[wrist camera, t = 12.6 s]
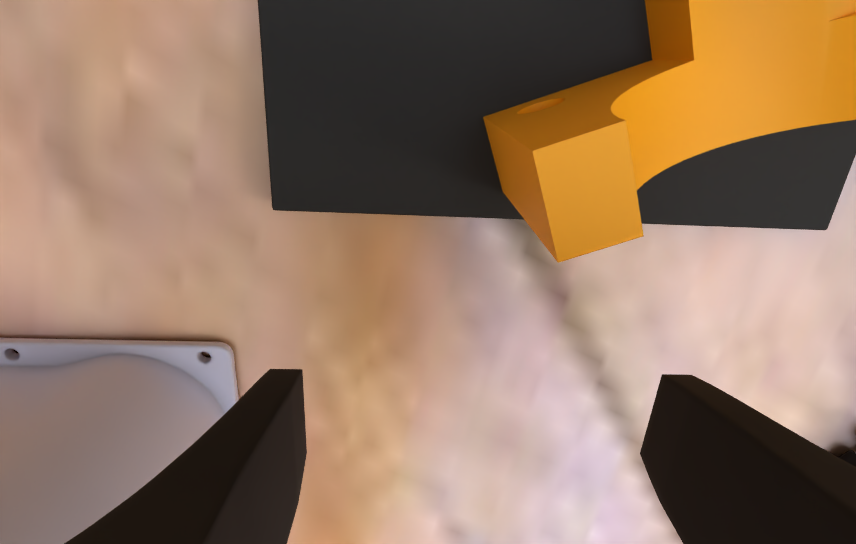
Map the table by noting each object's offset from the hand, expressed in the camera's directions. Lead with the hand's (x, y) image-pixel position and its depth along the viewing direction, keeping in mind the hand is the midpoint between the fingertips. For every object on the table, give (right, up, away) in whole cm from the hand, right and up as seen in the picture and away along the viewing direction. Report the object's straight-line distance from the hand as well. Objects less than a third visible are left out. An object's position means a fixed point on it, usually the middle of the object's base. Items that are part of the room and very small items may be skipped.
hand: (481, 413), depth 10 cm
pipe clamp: (+6, +9, +6) cm, 13 cm away
